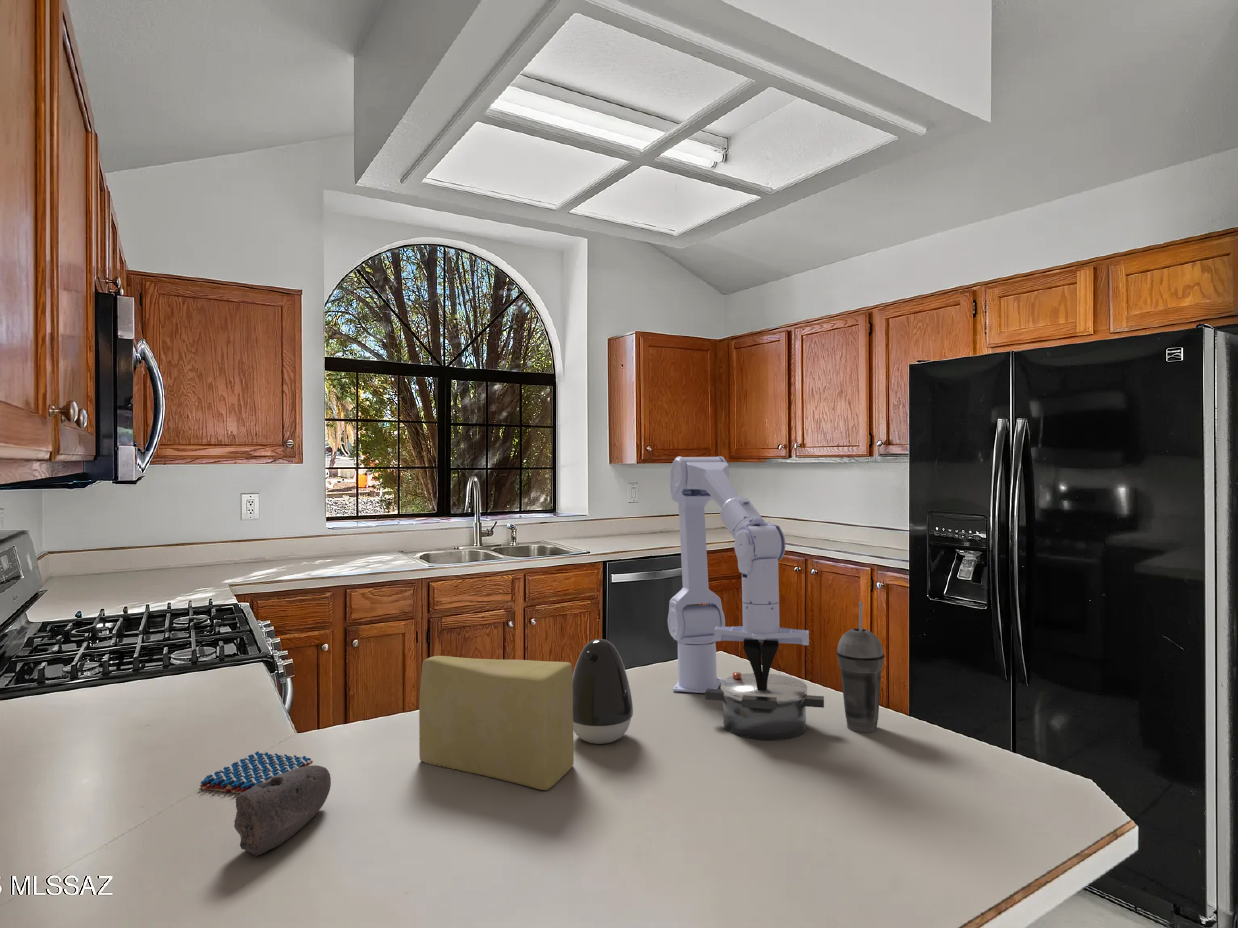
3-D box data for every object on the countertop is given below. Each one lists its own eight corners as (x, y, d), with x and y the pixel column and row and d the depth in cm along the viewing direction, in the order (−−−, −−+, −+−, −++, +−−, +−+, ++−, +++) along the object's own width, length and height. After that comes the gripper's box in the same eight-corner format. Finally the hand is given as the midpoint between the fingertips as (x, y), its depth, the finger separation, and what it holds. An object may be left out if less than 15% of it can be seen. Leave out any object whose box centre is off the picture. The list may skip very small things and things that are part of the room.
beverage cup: (879, 720, 117) (876, 597, 117) (892, 736, 110) (889, 604, 110) (833, 719, 117) (831, 597, 118) (843, 735, 110) (840, 604, 111)
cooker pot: (712, 708, 124) (712, 676, 124) (824, 716, 119) (823, 683, 119) (700, 734, 111) (699, 698, 112) (824, 744, 106) (823, 707, 107)
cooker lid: (726, 677, 123) (726, 666, 123) (808, 682, 120) (807, 670, 120) (713, 705, 109) (713, 692, 109) (806, 711, 105) (805, 698, 105)
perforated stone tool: (311, 801, 90) (311, 746, 90) (348, 806, 89) (348, 749, 89) (216, 864, 76) (216, 797, 76) (257, 870, 74) (257, 802, 74)
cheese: (400, 773, 98) (399, 663, 99) (440, 748, 108) (439, 648, 108) (546, 795, 91) (545, 676, 91) (576, 765, 100) (575, 658, 101)
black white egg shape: (557, 747, 107) (555, 645, 108) (580, 724, 117) (579, 630, 117) (622, 753, 104) (620, 648, 105) (641, 729, 114) (639, 633, 115)
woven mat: (317, 769, 102) (317, 754, 102) (262, 801, 91) (262, 785, 91) (256, 762, 104) (256, 748, 104) (195, 794, 94) (195, 778, 94)
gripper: (710, 604, 111) (712, 692, 111) (807, 607, 107) (809, 698, 107) (717, 597, 118) (718, 679, 118) (808, 599, 114) (810, 685, 114)
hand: (762, 688), depth 113 cm, fingers closed
